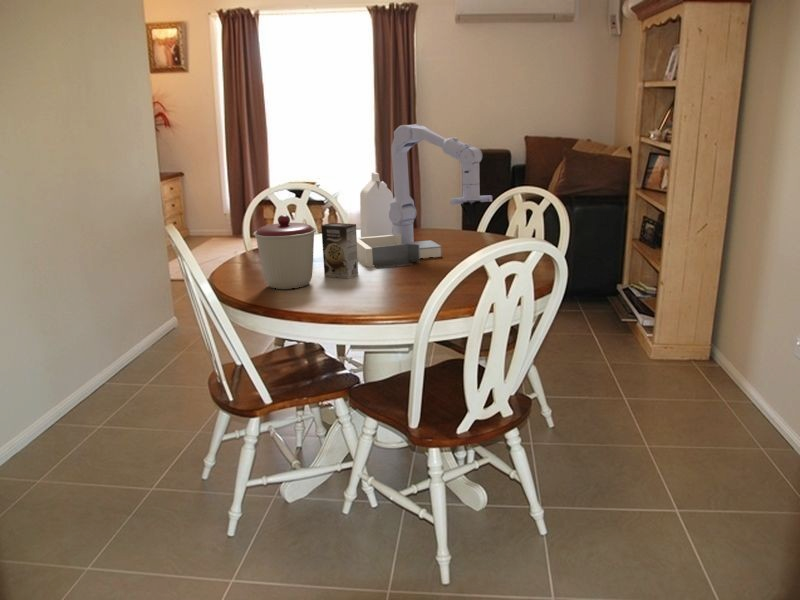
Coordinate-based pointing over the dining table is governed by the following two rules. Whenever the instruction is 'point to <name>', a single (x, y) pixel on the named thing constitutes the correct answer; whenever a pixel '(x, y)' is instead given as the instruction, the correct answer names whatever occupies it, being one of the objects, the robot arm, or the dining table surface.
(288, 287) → the canister
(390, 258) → the grey long angular piece
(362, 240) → the shallow white tray
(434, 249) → the white block
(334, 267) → the coffee box
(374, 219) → the milk
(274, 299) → the dining table surface
